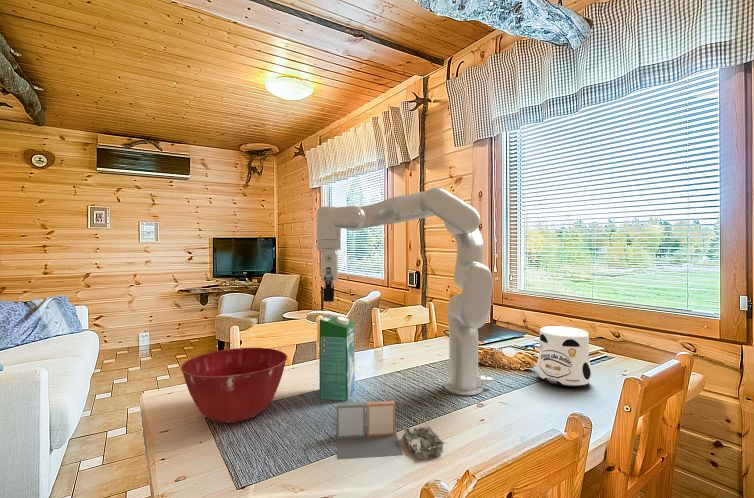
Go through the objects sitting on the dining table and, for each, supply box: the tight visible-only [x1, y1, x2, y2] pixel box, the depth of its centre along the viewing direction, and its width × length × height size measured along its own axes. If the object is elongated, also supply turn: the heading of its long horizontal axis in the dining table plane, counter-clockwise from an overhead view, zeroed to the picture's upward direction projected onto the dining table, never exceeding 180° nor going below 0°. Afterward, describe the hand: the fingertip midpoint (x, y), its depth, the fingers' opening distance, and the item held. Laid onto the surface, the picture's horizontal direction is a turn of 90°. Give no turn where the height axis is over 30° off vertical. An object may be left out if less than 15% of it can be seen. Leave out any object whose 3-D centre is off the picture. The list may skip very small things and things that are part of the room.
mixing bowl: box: [180, 347, 288, 424], centre depth 110 cm, size 28×28×16 cm
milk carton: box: [318, 314, 356, 402], centre depth 123 cm, size 9×9×25 cm
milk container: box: [536, 325, 593, 388], centre depth 134 cm, size 17×17×18 cm
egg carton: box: [400, 425, 446, 460], centre depth 90 cm, size 11×8×4 cm
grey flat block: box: [336, 401, 366, 439], centre depth 95 cm, size 7×2×8 cm, turn 97°
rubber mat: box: [336, 425, 404, 460], centre depth 93 cm, size 15×15×1 cm
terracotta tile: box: [365, 400, 396, 437], centre depth 96 cm, size 7×2×8 cm, turn 96°
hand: (328, 299), depth 122 cm, fingers open, 9 cm apart
